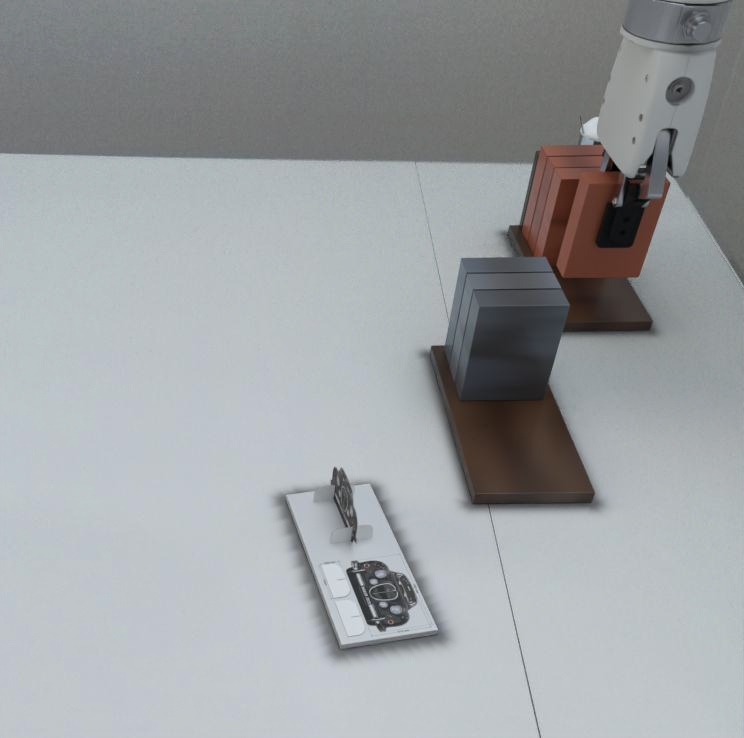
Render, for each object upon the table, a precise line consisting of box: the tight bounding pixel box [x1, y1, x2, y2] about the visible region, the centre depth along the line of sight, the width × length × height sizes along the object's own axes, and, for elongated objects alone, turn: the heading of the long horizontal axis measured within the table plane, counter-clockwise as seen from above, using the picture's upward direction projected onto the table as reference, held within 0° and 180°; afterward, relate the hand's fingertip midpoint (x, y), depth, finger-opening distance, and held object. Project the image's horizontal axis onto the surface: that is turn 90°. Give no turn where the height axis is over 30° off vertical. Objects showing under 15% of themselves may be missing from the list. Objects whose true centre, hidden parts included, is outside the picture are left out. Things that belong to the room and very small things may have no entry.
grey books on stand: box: [429, 256, 596, 504], centre depth 78 cm, size 9×20×10 cm, turn 0°
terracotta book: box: [557, 172, 671, 279], centre depth 88 cm, size 7×2×9 cm, turn 90°
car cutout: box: [285, 466, 439, 650], centre depth 68 cm, size 15×7×4 cm, turn 11°
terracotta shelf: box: [507, 144, 654, 332], centre depth 94 cm, size 9×19×10 cm, turn 0°
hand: (608, 235), depth 88 cm, fingers closed on terracotta book, 2 cm apart
